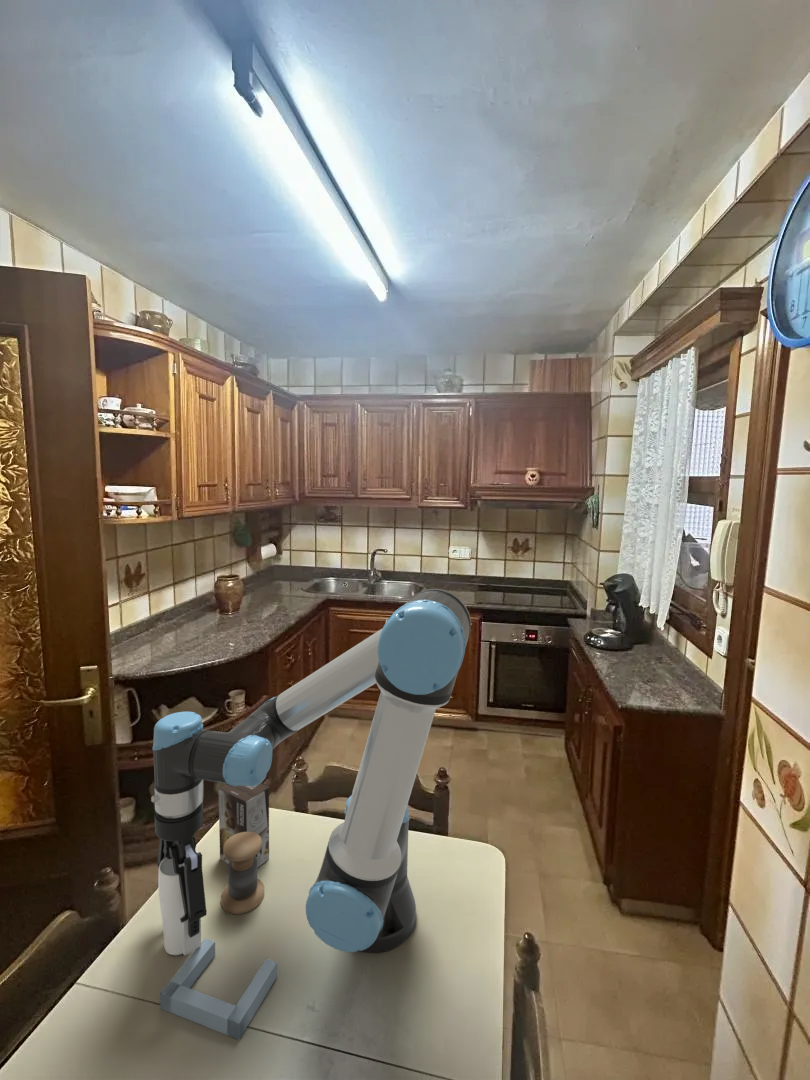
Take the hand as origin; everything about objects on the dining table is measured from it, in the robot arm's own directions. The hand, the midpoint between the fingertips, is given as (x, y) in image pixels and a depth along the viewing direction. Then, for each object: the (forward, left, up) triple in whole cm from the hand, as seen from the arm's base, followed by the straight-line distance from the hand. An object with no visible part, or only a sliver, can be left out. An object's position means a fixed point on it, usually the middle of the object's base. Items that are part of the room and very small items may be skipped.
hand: (181, 929), depth 86 cm
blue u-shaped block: (-12, +5, -3) cm, 13 cm away
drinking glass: (0, 0, -3) cm, 3 cm away
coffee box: (+2, -21, -3) cm, 21 cm away
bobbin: (-4, -12, -3) cm, 13 cm away
